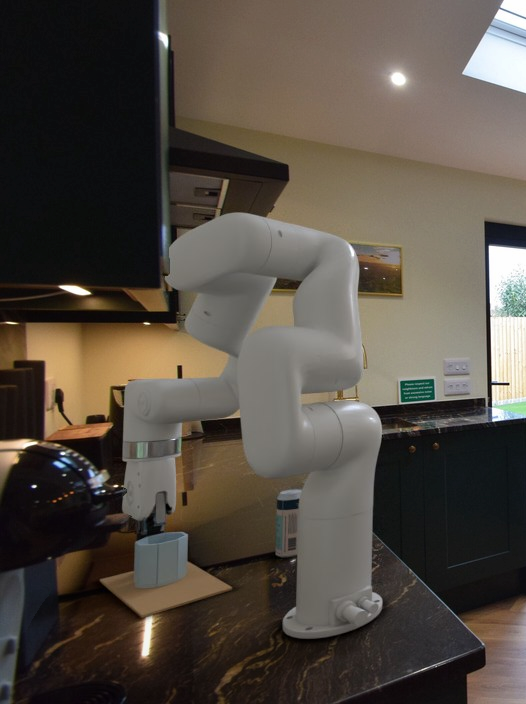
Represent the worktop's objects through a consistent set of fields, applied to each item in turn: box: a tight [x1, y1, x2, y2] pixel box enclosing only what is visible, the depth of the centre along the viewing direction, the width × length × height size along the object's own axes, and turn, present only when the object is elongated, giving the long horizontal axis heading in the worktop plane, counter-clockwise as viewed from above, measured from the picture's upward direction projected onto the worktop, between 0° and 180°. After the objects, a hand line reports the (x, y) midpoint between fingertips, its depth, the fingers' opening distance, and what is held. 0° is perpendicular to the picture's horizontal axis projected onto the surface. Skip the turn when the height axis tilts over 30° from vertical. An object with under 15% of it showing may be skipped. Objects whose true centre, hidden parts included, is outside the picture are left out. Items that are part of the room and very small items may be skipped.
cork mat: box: [99, 560, 233, 619], centre depth 86 cm, size 22×11×1 cm, turn 57°
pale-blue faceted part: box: [133, 531, 189, 588], centre depth 89 cm, size 7×6×11 cm
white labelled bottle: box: [275, 488, 303, 559], centre depth 101 cm, size 5×5×12 cm
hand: (149, 554), depth 91 cm, fingers closed
